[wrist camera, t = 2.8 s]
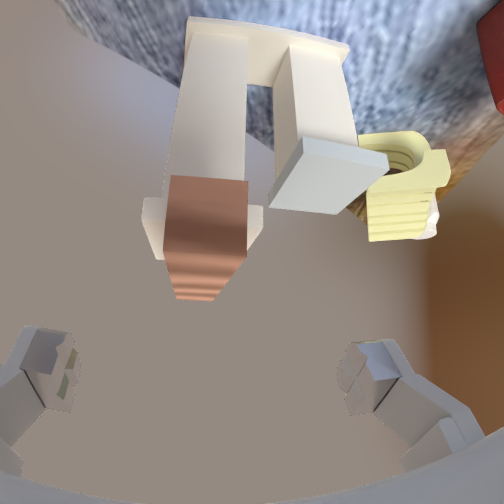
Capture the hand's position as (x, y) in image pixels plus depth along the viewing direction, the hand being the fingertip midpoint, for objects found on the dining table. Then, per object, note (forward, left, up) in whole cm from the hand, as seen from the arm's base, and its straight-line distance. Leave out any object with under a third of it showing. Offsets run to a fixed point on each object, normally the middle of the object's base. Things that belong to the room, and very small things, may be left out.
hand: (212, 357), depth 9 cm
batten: (+19, 0, -9) cm, 22 cm away
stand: (+23, +7, -41) cm, 48 cm away
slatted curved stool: (+41, +42, -42) cm, 72 cm away
